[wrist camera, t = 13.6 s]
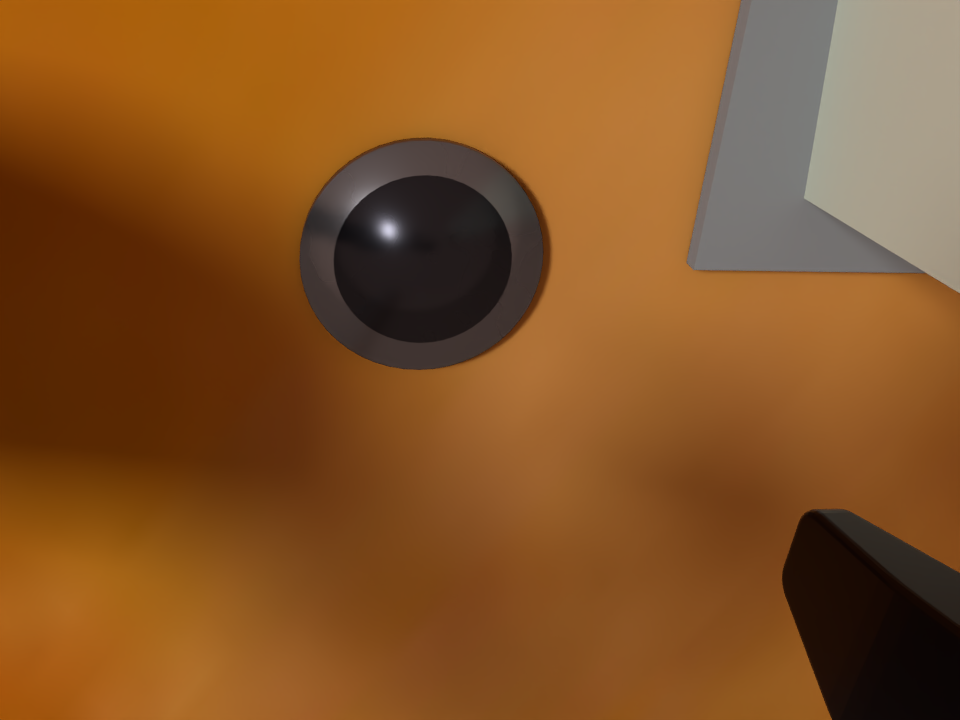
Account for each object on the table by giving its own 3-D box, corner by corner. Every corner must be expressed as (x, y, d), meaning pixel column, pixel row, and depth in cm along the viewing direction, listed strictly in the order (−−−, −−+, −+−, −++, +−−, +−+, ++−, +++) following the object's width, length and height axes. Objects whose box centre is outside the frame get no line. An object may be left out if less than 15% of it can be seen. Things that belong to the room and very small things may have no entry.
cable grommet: (302, 364, 21) (302, 370, 21) (296, 132, 19) (296, 135, 18) (527, 363, 22) (530, 368, 22) (553, 142, 20) (556, 146, 19)
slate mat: (686, 262, 22) (693, 269, 21) (780, -188, 17) (792, -191, 17) (1015, 267, 24) (1027, 274, 23) (1182, -140, 19) (1202, -141, 18)
